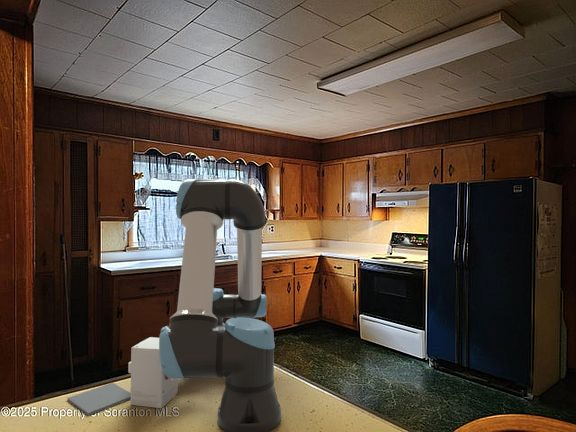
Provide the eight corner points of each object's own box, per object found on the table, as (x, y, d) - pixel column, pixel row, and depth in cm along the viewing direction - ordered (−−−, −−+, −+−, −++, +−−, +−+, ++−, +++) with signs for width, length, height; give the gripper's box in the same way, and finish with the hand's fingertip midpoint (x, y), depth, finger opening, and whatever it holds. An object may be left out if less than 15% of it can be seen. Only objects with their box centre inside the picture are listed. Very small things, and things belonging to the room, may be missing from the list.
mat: (134, 397, 104) (134, 395, 104) (88, 415, 95) (88, 413, 95) (112, 384, 112) (112, 382, 112) (67, 400, 102) (67, 397, 102)
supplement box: (161, 409, 98) (161, 350, 98) (129, 405, 100) (129, 347, 100) (179, 393, 107) (179, 338, 107) (149, 389, 109) (149, 336, 108)
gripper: (231, 362, 118) (191, 393, 98) (162, 352, 126) (112, 378, 106) (231, 337, 118) (192, 363, 98) (162, 329, 126) (112, 351, 106)
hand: (150, 371), depth 102 cm, fingers open, 13 cm apart
